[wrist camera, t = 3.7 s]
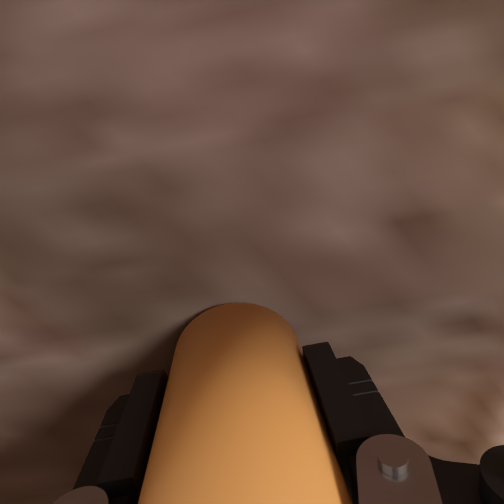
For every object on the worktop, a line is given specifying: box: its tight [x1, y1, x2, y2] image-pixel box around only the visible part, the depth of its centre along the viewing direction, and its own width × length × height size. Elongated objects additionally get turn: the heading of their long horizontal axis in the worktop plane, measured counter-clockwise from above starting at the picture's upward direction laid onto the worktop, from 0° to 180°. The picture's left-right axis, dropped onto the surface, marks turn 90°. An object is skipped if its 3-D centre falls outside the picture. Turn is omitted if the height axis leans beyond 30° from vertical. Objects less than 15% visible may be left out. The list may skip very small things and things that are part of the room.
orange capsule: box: [138, 303, 353, 504], centre depth 8 cm, size 4×4×8 cm
